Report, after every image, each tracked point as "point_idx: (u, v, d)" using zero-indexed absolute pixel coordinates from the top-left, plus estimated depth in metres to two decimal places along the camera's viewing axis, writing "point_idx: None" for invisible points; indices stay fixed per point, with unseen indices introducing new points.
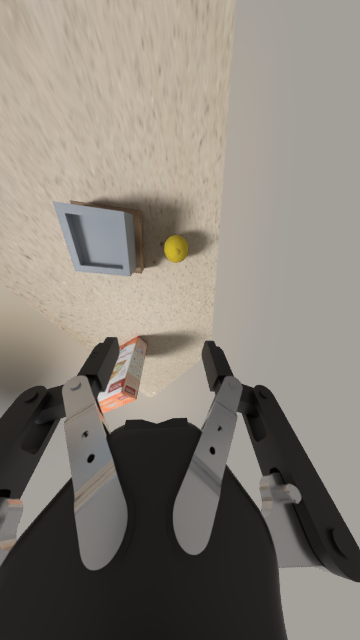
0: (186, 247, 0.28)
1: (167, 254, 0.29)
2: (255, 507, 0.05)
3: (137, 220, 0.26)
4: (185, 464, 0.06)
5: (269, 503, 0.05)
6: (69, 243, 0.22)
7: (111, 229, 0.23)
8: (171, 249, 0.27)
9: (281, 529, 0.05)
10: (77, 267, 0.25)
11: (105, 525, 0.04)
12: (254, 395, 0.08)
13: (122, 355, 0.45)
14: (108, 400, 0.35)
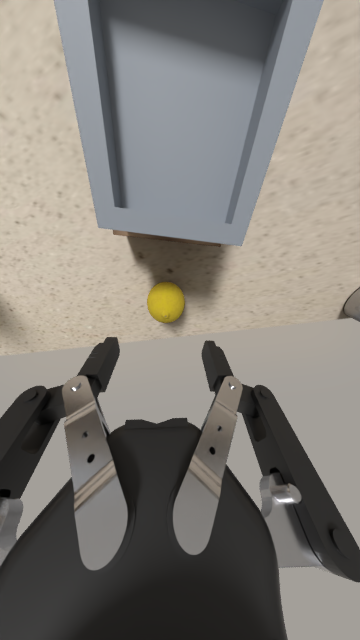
0: (170, 321, 0.19)
1: (159, 297, 0.17)
2: (255, 506, 0.05)
3: (206, 243, 0.15)
4: (185, 464, 0.06)
5: (269, 503, 0.05)
6: None
7: (211, 193, 0.09)
8: (168, 306, 0.17)
9: (281, 530, 0.05)
10: None
11: (105, 526, 0.04)
12: (254, 395, 0.08)
13: None
14: None
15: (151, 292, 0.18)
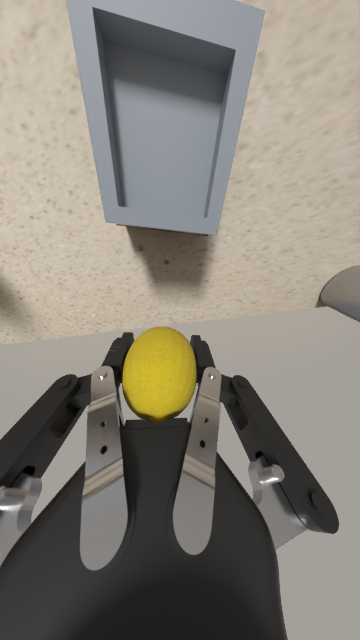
0: None
1: (143, 382, 0.07)
2: (255, 507, 0.05)
3: (196, 233, 0.18)
4: (178, 465, 0.05)
5: (259, 488, 0.06)
6: None
7: (191, 195, 0.12)
8: (164, 406, 0.07)
9: (272, 511, 0.05)
10: None
11: (105, 525, 0.04)
12: (233, 386, 0.09)
13: None
14: None
15: (129, 360, 0.09)
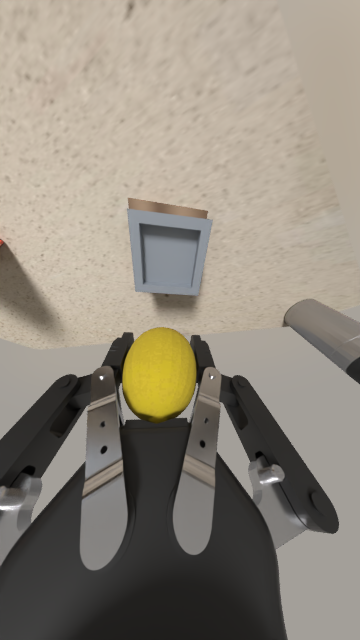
0: None
1: (143, 383, 0.07)
2: (255, 506, 0.05)
3: None
4: (178, 466, 0.05)
5: (259, 488, 0.06)
6: (168, 219, 0.16)
7: (183, 274, 0.21)
8: (164, 407, 0.07)
9: (272, 511, 0.05)
10: (134, 216, 0.15)
11: (105, 525, 0.04)
12: (233, 386, 0.09)
13: None
14: None
15: (129, 360, 0.09)
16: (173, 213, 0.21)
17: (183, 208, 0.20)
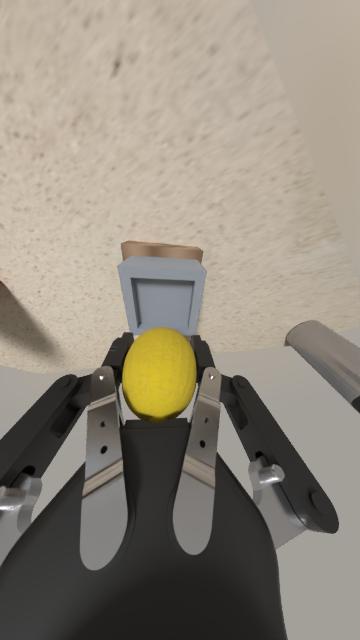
0: None
1: (143, 383, 0.07)
2: (255, 506, 0.05)
3: None
4: (178, 466, 0.05)
5: (259, 488, 0.06)
6: (160, 272, 0.15)
7: (179, 315, 0.21)
8: (164, 407, 0.07)
9: (272, 510, 0.05)
10: (125, 272, 0.15)
11: (105, 525, 0.04)
12: (233, 386, 0.09)
13: None
14: None
15: (129, 360, 0.09)
16: (167, 255, 0.20)
17: (177, 250, 0.20)
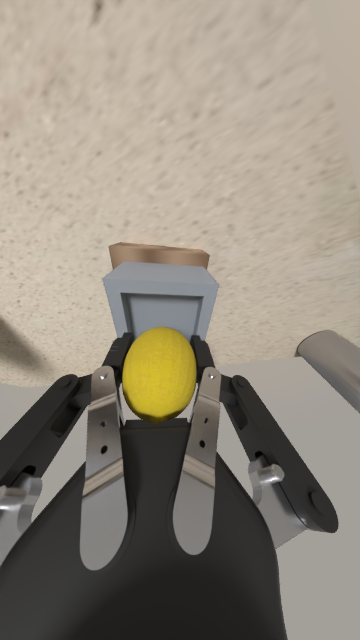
0: None
1: (143, 383, 0.07)
2: (255, 506, 0.05)
3: None
4: (178, 466, 0.05)
5: (259, 488, 0.06)
6: (159, 286, 0.12)
7: (181, 333, 0.17)
8: (164, 406, 0.07)
9: (272, 510, 0.05)
10: (113, 285, 0.11)
11: (105, 525, 0.04)
12: (233, 386, 0.09)
13: None
14: None
15: (129, 360, 0.09)
16: (166, 260, 0.17)
17: (178, 254, 0.16)
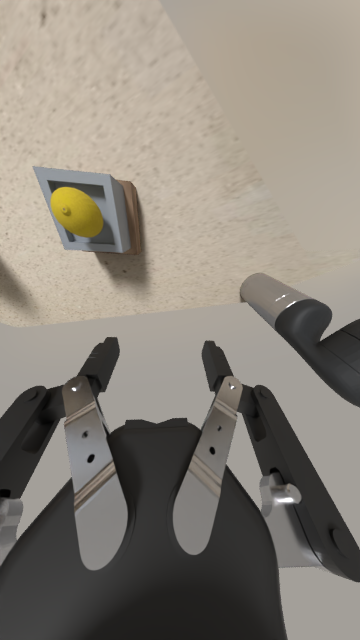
0: (85, 230, 0.18)
1: (55, 191, 0.16)
2: (255, 506, 0.05)
3: (130, 253, 0.30)
4: (185, 464, 0.06)
5: (268, 503, 0.06)
6: (71, 175, 0.19)
7: (107, 233, 0.24)
8: (64, 198, 0.16)
9: (281, 530, 0.05)
10: (40, 173, 0.18)
11: (105, 525, 0.04)
12: (254, 395, 0.08)
13: None
14: None
15: None
16: None
17: None
